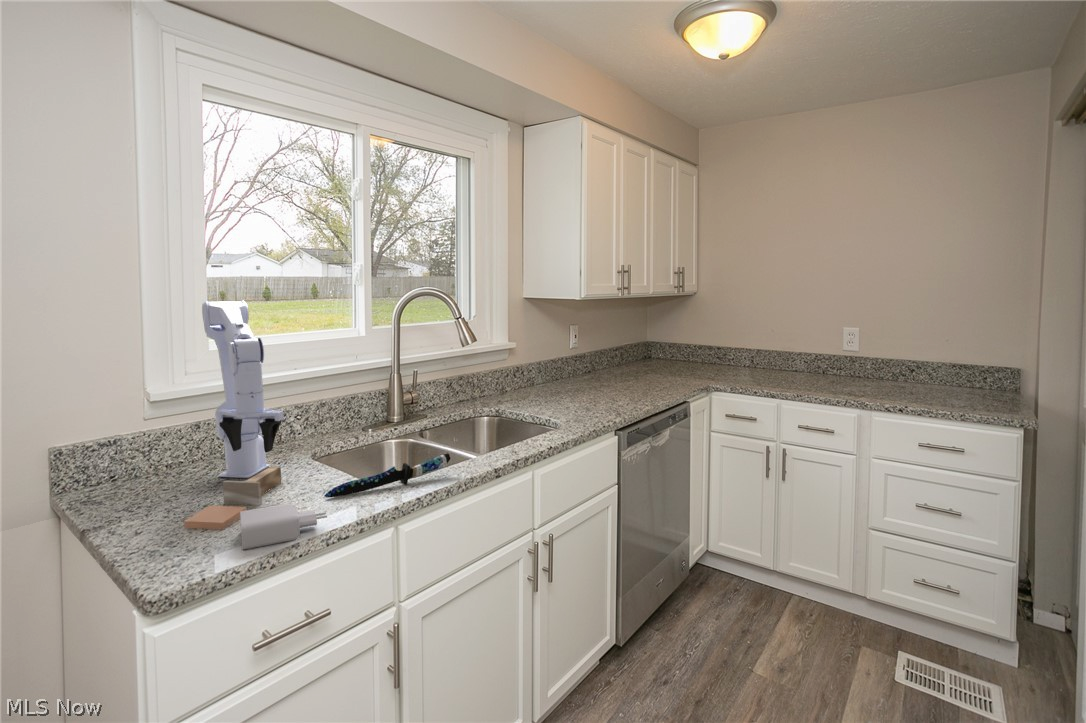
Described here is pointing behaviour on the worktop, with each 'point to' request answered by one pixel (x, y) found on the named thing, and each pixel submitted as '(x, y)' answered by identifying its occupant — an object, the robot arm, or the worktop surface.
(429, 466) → the knife
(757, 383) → the worktop surface
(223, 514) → the tile
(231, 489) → the scraper
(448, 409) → the worktop surface
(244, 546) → the charger
